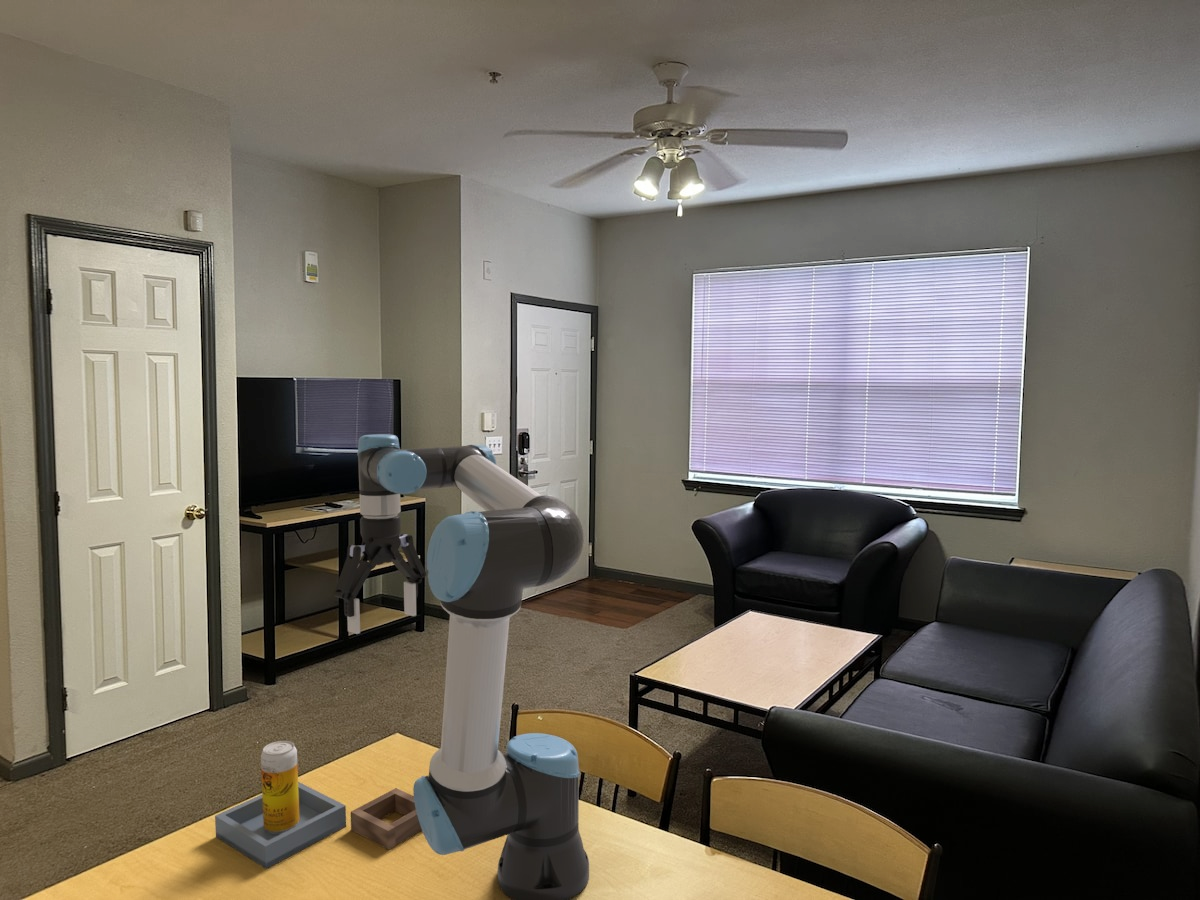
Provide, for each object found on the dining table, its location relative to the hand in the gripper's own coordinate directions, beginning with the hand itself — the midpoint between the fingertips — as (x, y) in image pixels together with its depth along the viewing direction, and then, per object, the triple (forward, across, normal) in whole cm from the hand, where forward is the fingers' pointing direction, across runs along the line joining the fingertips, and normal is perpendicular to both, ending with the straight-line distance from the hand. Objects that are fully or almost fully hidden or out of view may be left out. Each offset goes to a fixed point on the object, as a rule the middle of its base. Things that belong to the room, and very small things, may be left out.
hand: (383, 623), depth 158 cm
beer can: (+34, +20, -5) cm, 40 cm away
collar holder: (+35, +7, +10) cm, 37 cm away
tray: (+35, +20, -5) cm, 40 cm away
